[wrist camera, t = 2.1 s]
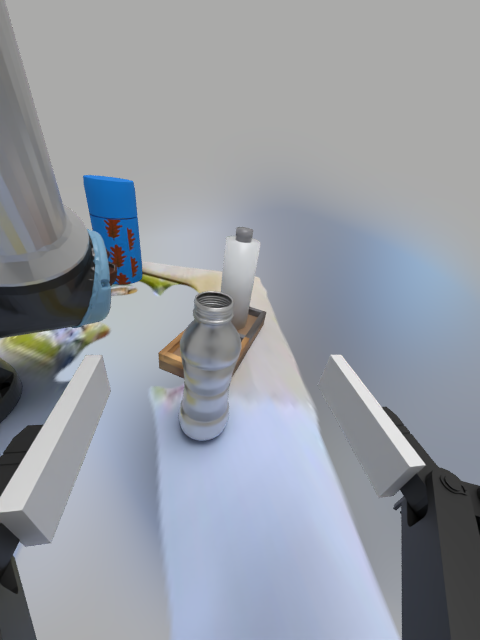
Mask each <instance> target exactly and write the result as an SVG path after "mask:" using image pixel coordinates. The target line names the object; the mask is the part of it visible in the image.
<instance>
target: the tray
mask: <svg viewBox="0 0 480 640" xmlns="http://www.w3.org/2000/svg"><path fill="white" fill-rule="evenodd" d="M265 315H266V312H264V311H261V310H258V309H255V308H252V307H249V311H248V317H247V322H246V326H245V327H244V328H242V329H240V330H237V332H238V333H239V335H240V339H241V351H240V355H239V358H238V360H237V363H236V366H235V368H234V371H233V373H232V376H233V375H234V373H235V371H236V370H237V368H238V366H239V364H240V363H241V361H242V359H243V358H244V356H245V354H246V353H247V351H248V349H249V348H250V346H251V344H252V343H253V341H254V339H255V338H256V336H257V334H258V333H259V331H260V329H261V328H262V326H263V324H264V320H265ZM184 331H185V330H184ZM184 331H183V332H184ZM183 332H182V333H180V334H179V335H178V336H177V337H176V338H175V339H174V340H173V341H171V342H170V343H169V344H168V345H167V346H166V347H165V348H164V349H162V351H160V352H159V368H160V369H162V370H165V371H168V372H170V373H172V374H174V375H177V376H179V377H182V378H184V369H183V364H182V358H181V353H180V340H181V337H182V335H183Z"/></svg>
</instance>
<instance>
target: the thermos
mask: <svg viewBox="0 0 480 640" xmlns="http://www.w3.org/2000/svg"><path fill="white" fill-rule="evenodd" d="M83 178H84V187H85V192H86V198H87V203H88V208H89V213H90V218H91V223H92V229H93V231H96V232H98V233H99V234H100V235H101V237H102V239H103V241H104V245H105V247H106V249H107V251H109V253H110V256H109V258H108V261H109V262H112V263H114V264H116V265H117V278H116V280H115V282H114V283H113V284H119V285H121V284H131V283H135V282H138V281H139V280H141V279H142V261H141V250H140V240H139V229H138V218H137V207H136V197H135V188H134V183H133V181H130V180H126V179H120V178H113V177H105V176H92V175H84V176H83Z"/></svg>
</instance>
